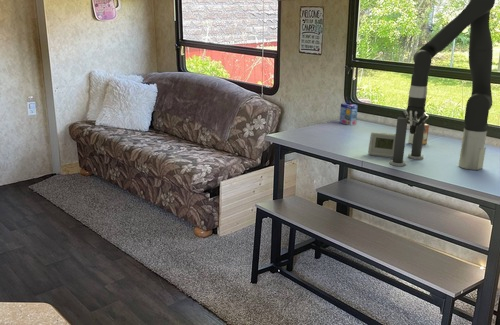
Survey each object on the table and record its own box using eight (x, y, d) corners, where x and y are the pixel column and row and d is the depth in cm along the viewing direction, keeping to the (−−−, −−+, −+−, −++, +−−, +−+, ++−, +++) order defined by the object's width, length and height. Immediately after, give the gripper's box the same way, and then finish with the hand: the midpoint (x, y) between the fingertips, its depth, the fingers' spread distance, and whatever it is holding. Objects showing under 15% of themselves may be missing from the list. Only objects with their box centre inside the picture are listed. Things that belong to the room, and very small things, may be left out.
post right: (425, 157, 236) (431, 114, 230) (418, 160, 231) (424, 116, 225) (412, 154, 240) (417, 112, 235) (405, 157, 236) (410, 113, 230)
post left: (408, 164, 224) (413, 118, 218) (400, 167, 219) (405, 120, 214) (394, 161, 229) (399, 116, 223) (386, 163, 224) (391, 118, 218)
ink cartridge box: (338, 122, 311) (340, 99, 307) (345, 121, 314) (346, 99, 310) (350, 125, 304) (352, 102, 300) (356, 124, 307) (358, 101, 303)
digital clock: (366, 154, 238) (368, 133, 235) (372, 151, 246) (375, 130, 243) (399, 160, 230) (401, 138, 227) (405, 156, 237) (407, 135, 234)
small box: (414, 145, 259) (417, 125, 256) (407, 142, 264) (410, 123, 261) (427, 144, 262) (429, 124, 259) (419, 141, 267) (422, 122, 264)
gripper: (435, 97, 219) (430, 135, 224) (408, 93, 227) (403, 130, 232) (427, 98, 213) (422, 137, 218) (399, 94, 222) (395, 132, 227)
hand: (412, 133), depth 225 cm, fingers closed
